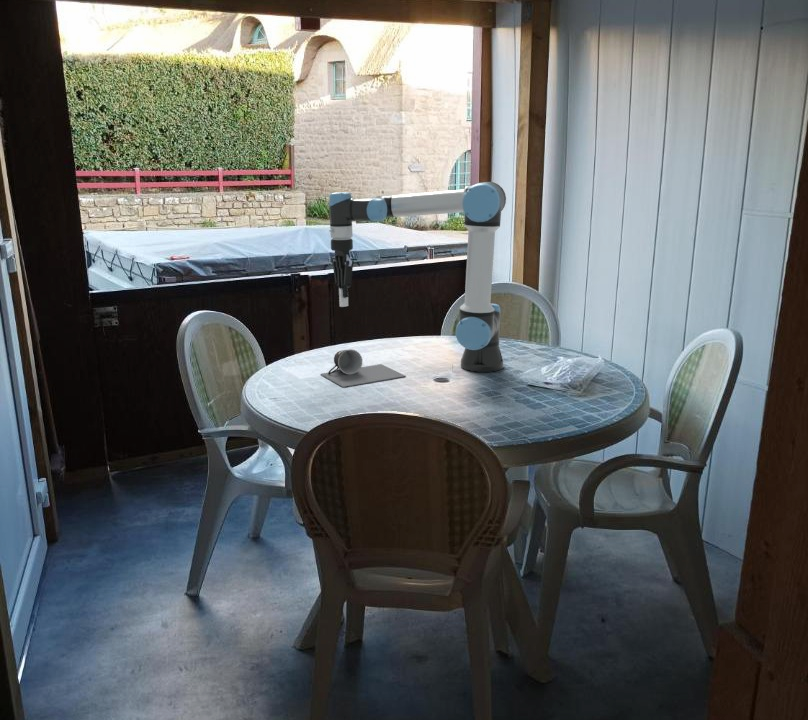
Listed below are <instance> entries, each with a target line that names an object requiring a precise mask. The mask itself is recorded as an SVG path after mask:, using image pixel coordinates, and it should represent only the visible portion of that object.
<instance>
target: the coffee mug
mask: <svg viewBox="0 0 808 720" xmlns="http://www.w3.org/2000/svg"><path fill="white" fill-rule="evenodd" d="M333 362H334V366H333V367H331V369H329V371H328V372H327V373H328V374H331V373H333V372H335V371H342V372H343V373H345V374H349V375H350V374H355V373H357V372H358V371H359V370H360V368H361V367H363V357H362V355H361V353H360V352H359V351H357V350H355V349H344V350H343V349H342V350H339V351H338V352H336V354H334V357H333ZM336 367H337V368H336ZM335 368H336V369H335Z"/></svg>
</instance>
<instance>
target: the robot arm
mask: <svg viewBox="0 0 808 720" xmlns="http://www.w3.org/2000/svg"><path fill="white" fill-rule="evenodd" d="M328 197H329V200H328V202H329V203H328V211H329V227H330V229H329V232H330V238H331V239H330V250H331V251H332V252H333V251H334V256H333V257H331V258H330V260H331V263H332V269H333V277H334V282H335V285H336V286H337V287H338V296H339V297H338V299H339V300H338V302H339V303H338V304H339V307H340V308H344V307H349V288H351V287H352V281H353V280H352V279H353V268H354V263H355V261H354V260H353V259H351V254H350V251H352V250H353V249H354V243H353V242H354V241H353V239H352V238H353V222H374V223H377V222H383V221H385V220H386V219H387V218H398V217H399V218H400V217H414V216H415V217H416V216H426V215H444V214H445V215H446V214H458V213H459V214H461V213H464V217H463V218H464V220H463V225H464V227H465V228H466V229H467V231H468V233H467V249H466V250H467V251H466V252H467V253H466V268H465V286H464V287H465V289H464V290H465V291H464V302H463V304H461V305H460V306H459V316H458V323H457V325H456V326H455V327H456V328H455V337H456V341H457V342H458V343H459V344H460V346H462V347H463V348H464V349H463V353H462V357H461V359H460V367H461V369H463V368H464V369H463V370H465V371H469V370H470V371H469V372H474V371H477V372H476V373H492V372H493V371H494V372H498V371H500V370H503V368H504V358H503V355H502V352H501V349H500V329H501V328H500V327H501V326H500V325H501V313H502V312H501V307H500V305H499V304H497V303H491V301H492V300H491V299H492V283H493V270H494V269H493V267H494V266H493V265H494V254H495V253H494V252H495V238H496V231H497V230H498V229H499V228H500V227H501V220H502V219H501V218H502V211H503V210H504V208H505V206H506V204H507V196H506V192H505V190H504V188H503V187H502V186H501V185H499V184H498V183H496V182H493V181H484V182H477V183H475V184H473V185H468V186H467V185H466V186H465V187H464V188H463V189H455V190H453V189H452V190H442V191H441V190H439V191H431V192H430V191H429V192H417V193H416V192H414V193H405V194H404V193H403V194H394V195H377V196H373V197H367V198H356V197H355V198H353V197H352V193H351V192H348V191H347V192H345V191H342V192H341V191H337V192H332V193H329V196H328Z"/></svg>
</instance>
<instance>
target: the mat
mask: <svg viewBox="0 0 808 720" xmlns="http://www.w3.org/2000/svg"><path fill="white" fill-rule="evenodd" d="M320 376H321V377H323V376H324V377H323V378H325V379H327V380H329V381H330V380H331V381H330V382H333V383H334V384H335V383H336V385H337V384H338V385H337V386H339V385H340V386H339V387H341V388H342V387H345V388H348V387H347V386H351V387H355V386H354V385H356V386H361V385H360V384H362V385H366V383H368V384H373V382H374V383H378V382H379V381H380V382H384V380H385V381H391V380H396V379H403V378H406V377H407V376H406V375H405V374H403V373H401V372H399V371H397V370H394V369H392V368H390V367H388V366H386V365H384V364H382V363H380V364H374V365H373V364H372V365H367V366H361V368H360V370H359V371H358V372H357V373H355V374H350V375H349V374H345V373H343V372H342V371H341V370H336V371H335V372H333V373H331V374H328V372H323V373H320Z"/></svg>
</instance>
